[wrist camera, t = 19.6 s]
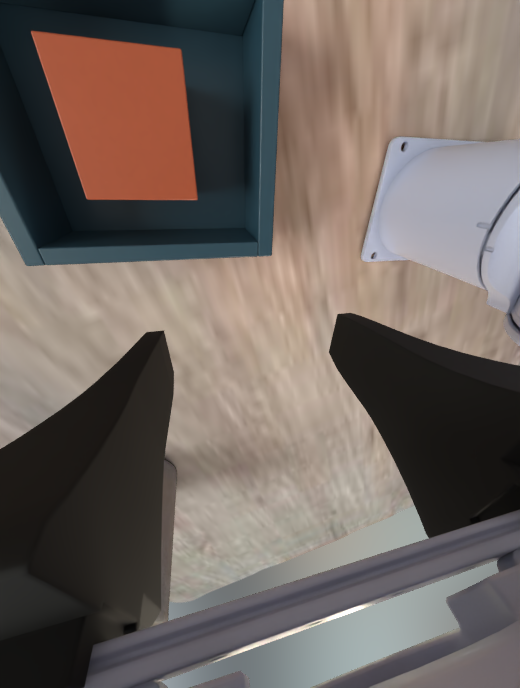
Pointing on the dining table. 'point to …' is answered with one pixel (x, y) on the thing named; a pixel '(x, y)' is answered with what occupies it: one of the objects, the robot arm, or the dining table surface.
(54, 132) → the toy box
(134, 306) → the dining table surface
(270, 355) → the dining table surface
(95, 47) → the block
